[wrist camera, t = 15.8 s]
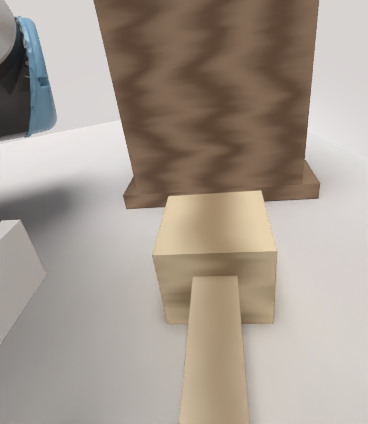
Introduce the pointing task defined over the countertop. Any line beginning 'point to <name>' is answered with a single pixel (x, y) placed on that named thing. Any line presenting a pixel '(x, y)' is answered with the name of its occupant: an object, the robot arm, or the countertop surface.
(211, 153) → the stand
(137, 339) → the countertop surface
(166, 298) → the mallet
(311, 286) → the countertop surface
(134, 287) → the countertop surface
